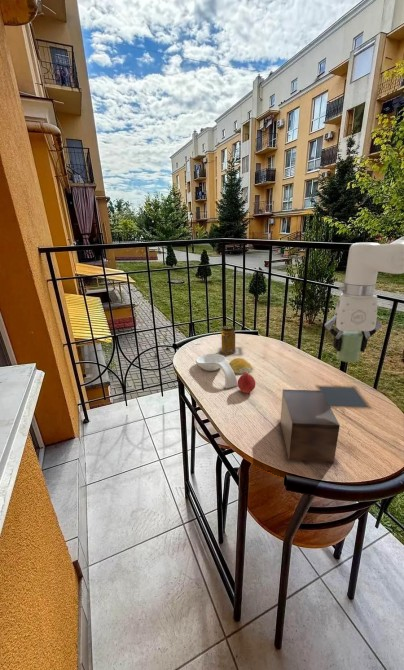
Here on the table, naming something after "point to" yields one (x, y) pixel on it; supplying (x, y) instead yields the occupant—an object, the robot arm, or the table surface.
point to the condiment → (228, 340)
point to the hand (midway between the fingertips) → (348, 349)
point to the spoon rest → (216, 362)
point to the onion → (246, 383)
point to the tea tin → (350, 346)
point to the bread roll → (240, 365)
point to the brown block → (308, 426)
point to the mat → (342, 397)
